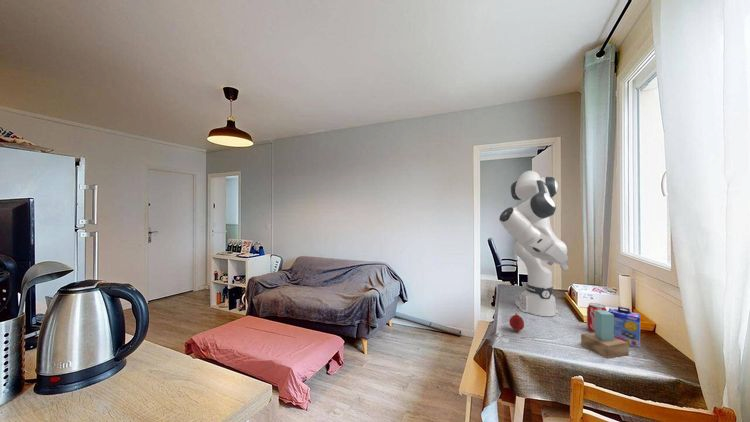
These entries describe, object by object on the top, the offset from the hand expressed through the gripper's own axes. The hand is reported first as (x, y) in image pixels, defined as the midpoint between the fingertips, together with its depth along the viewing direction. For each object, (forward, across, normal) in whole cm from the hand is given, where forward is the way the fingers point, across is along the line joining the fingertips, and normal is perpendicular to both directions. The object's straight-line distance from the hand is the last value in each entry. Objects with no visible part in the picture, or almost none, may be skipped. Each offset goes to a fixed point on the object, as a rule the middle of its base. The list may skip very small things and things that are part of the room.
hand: (558, 266), depth 110 cm
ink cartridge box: (+43, -5, -2) cm, 43 cm away
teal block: (+30, +3, -8) cm, 31 cm away
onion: (+15, -12, -30) cm, 35 cm away
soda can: (+40, -14, -4) cm, 43 cm away
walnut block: (+33, +3, -12) cm, 35 cm away
